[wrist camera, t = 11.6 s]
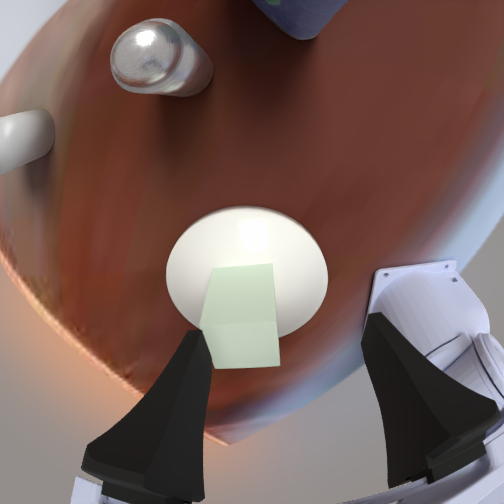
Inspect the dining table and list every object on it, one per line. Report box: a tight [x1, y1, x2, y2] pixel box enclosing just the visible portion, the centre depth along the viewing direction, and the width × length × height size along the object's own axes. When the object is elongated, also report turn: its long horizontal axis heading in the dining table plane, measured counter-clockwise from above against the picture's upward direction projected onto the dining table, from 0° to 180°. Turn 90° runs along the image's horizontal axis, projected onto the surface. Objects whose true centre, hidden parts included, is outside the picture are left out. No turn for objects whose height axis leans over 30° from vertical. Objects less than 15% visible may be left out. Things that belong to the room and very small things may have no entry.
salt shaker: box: [110, 18, 214, 97], centre depth 11 cm, size 4×4×9 cm
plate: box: [166, 206, 328, 338], centre depth 22 cm, size 13×13×1 cm
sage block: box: [199, 263, 280, 369], centre depth 19 cm, size 4×4×6 cm
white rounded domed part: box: [0, 109, 55, 175], centre depth 14 cm, size 4×4×5 cm
